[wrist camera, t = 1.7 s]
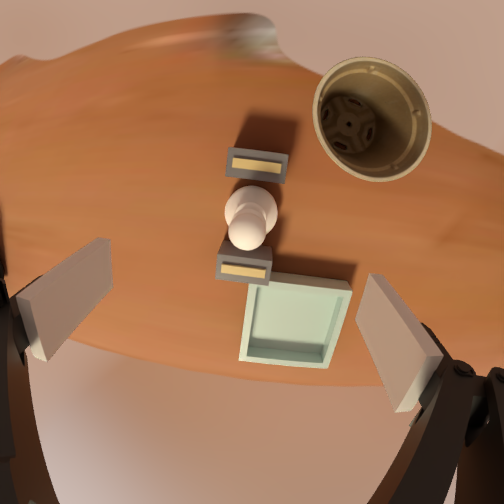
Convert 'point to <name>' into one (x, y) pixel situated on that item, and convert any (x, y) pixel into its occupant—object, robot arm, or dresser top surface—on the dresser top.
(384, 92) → the flower pot
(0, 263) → the portable speaker
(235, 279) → the fuse holder
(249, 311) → the tray
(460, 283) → the dresser top surface
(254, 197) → the chess pawn
